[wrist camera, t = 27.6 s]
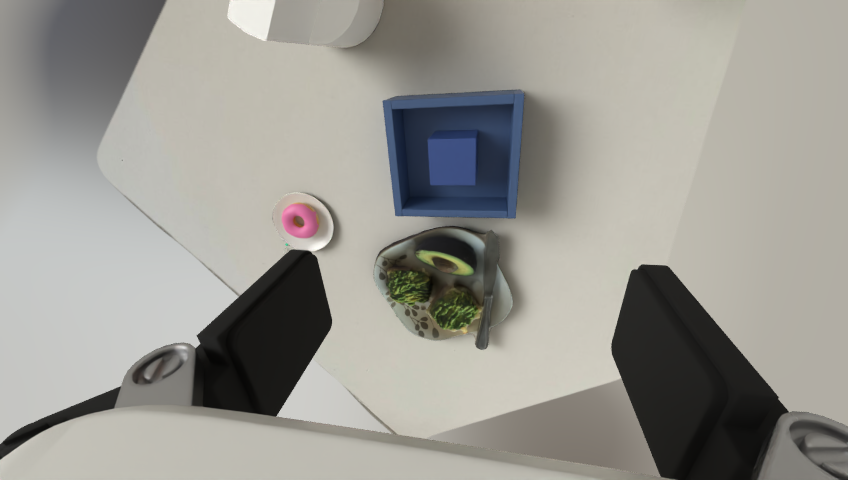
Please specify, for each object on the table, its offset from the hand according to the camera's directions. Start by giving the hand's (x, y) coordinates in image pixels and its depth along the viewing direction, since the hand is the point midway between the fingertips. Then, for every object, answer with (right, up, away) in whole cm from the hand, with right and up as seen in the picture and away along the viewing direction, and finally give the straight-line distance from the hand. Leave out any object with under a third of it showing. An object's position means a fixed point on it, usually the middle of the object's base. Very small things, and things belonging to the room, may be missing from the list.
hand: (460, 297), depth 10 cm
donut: (-17, +3, +35) cm, 39 cm away
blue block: (+2, +11, +25) cm, 28 cm away
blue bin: (+2, +12, +26) cm, 29 cm away
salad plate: (+2, -3, +34) cm, 35 cm away
